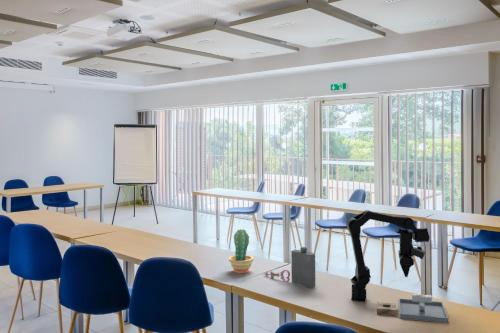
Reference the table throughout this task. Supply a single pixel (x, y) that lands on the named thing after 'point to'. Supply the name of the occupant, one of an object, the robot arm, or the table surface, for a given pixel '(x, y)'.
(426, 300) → the gray rectangular block
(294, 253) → the flask
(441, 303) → the tray
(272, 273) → the decorative key
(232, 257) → the potted cactus
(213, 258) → the table surface
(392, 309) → the socket block
